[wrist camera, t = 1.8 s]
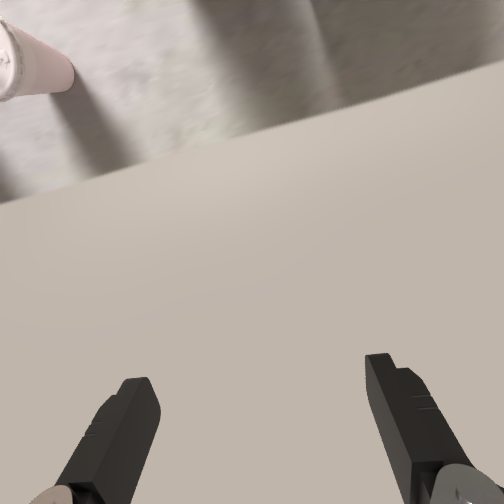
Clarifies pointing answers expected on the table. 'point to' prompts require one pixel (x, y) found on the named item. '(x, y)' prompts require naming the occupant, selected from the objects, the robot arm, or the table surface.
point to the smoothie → (30, 65)
